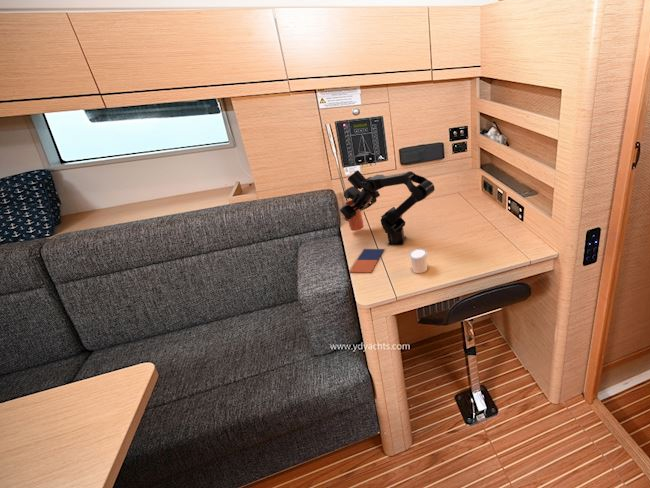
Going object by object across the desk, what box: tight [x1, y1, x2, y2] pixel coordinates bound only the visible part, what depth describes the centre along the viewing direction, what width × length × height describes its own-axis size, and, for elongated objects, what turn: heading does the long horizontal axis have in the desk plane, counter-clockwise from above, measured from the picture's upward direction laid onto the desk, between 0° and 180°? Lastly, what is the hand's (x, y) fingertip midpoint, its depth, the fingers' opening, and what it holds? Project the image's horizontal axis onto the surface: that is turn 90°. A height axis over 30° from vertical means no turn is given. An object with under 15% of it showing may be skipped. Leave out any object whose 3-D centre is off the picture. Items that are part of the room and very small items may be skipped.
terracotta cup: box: [343, 199, 365, 231], centre depth 158 cm, size 6×6×13 cm
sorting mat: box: [349, 248, 385, 274], centre depth 138 cm, size 9×16×1 cm, turn 172°
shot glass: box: [408, 248, 428, 274], centre depth 128 cm, size 7×7×7 cm
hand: (352, 214), depth 158 cm, fingers closed on terracotta cup, 6 cm apart
